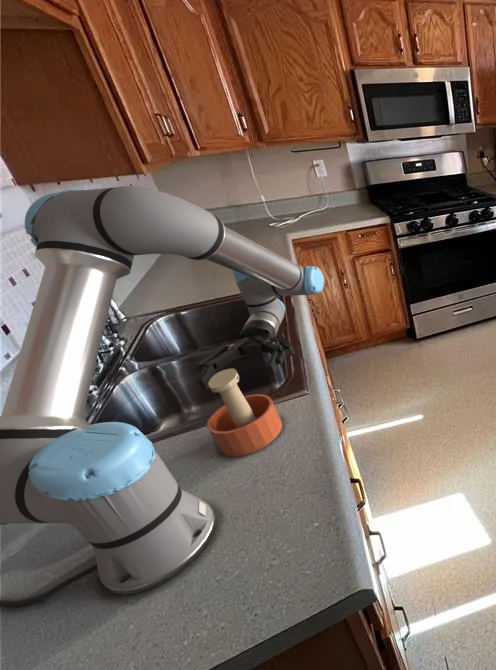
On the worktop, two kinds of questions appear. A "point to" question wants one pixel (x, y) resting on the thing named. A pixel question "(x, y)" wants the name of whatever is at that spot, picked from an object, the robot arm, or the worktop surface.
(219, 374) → the handle
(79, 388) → the robot arm
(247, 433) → the crock
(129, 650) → the worktop surface
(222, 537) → the worktop surface
